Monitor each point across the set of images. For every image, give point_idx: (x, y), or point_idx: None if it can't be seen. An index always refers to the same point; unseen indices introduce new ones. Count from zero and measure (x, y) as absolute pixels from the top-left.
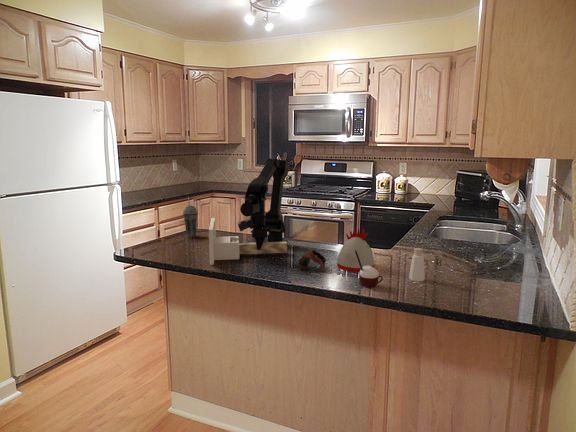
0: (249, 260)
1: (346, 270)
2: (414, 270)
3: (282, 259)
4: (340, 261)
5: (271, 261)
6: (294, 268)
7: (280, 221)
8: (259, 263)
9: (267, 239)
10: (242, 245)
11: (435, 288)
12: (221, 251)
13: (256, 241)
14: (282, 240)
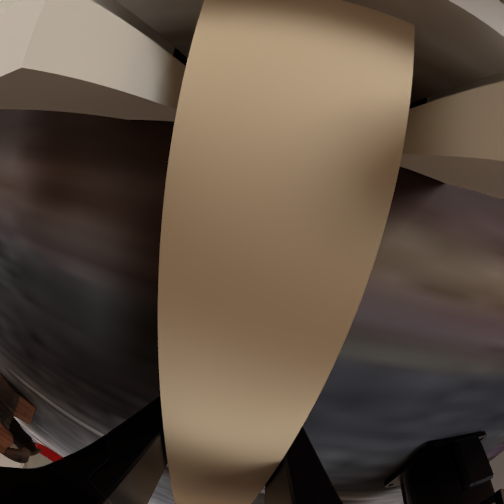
0: (75, 219)
1: (36, 443)
2: (21, 465)
3: (105, 416)
4: (38, 460)
5: (63, 356)
6: (9, 373)
7: None
8: (23, 273)
9: (472, 459)
10: (175, 192)
11: (12, 444)
12: None
13: (82, 453)
14: (403, 501)
